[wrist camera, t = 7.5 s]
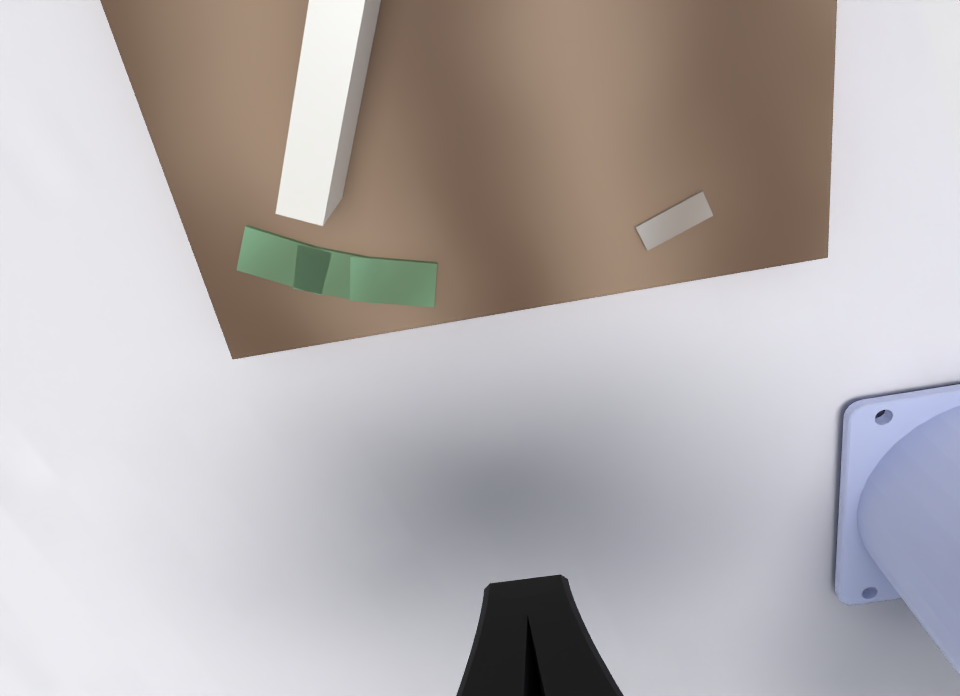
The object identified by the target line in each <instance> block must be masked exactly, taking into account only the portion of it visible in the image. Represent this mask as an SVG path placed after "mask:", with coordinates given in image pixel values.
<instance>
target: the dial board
mask: <svg viewBox="0 0 960 696" xmlns="http://www.w3.org/2000/svg"><path fill="white" fill-rule="evenodd" d="M100 1H101V4H102V6H103V9H104V12H105V14H106V17H107V20H108V23H109V25H110V28H111V31H112V33H113V36H114V39H115V42H116V44H117V47H118V50H119V52H120V55H121V58H122V61H123V63H124V66H125V69H126V71H127V74H128V77H129V80H130V82H131V85H132V88H133V90H134V93H135V96H136V99H137V101H138V104H139V107H140V109H141V112H142V115H143V117H144V120H145V123H146V126H147V128H148V131H149V134H150V136H151V139H152V142H153V145H154V147H155V150H156V153H157V155H158V158H159V161H160V164H161V166H162V169H163V172H164V174H165V177H166V180H167V183H168V185H169V188H170V191H171V193H172V196H173V199H174V202H175V204H176V207H177V210H178V212H179V215H180V218H181V221H182V223H183V226H184V229H185V231H186V234H187V237H188V240H189V242H190V245H191V248H192V250H193V253H194V256H195V259H196V261H197V264H198V267H199V269H200V272H201V275H202V278H203V280H204V283H205V286H206V288H207V291H208V294H209V297H210V299H211V302H212V305H213V307H214V310H215V313H216V316H217V318H218V321H219V324H220V326H221V329H222V332H223V335H224V337H225V340H226V343H227V345H228V348H229V351H230V353H231V356H232V359H238V358H243V357H249V356H255V355H261V354H267V353H273V352H278V351H284V350H290V349H296V348H302V347H308V346H314V345H319V344H325V343H331V342H337V341H343V340H349V339H354V338H360V337H366V336H372V335H378V334H384V333H389V332H395V331H401V330H407V329H413V328H419V327H425V326H430V325H436V324H442V323H448V322H454V321H460V320H465V319H471V318H477V317H483V316H489V315H495V314H501V313H506V312H512V311H518V310H524V309H530V308H536V307H541V306H547V305H553V304H559V303H565V302H571V301H577V300H582V299H588V298H594V297H600V296H606V295H612V294H617V293H623V292H629V291H635V290H641V289H647V288H652V287H658V286H664V285H670V284H676V283H682V282H688V281H693V280H699V279H705V278H711V277H717V276H723V275H728V274H734V273H740V272H746V271H752V270H758V269H764V268H769V267H775V266H781V265H787V264H793V263H799V262H804V261H810V260H816V259H822V258H828V235H829V207H830V180H831V152H832V124H833V96H834V68H835V40H836V12H837V0H381V3H380V8H379V13H378V18H377V23H376V28H375V33H374V38H373V43H372V48H371V54H370V59H369V64H368V69H367V74H366V79H365V84H364V89H363V94H362V100H361V105H360V110H359V115H358V120H357V125H356V130H355V135H354V140H353V145H352V151H351V156H350V161H349V166H348V171H347V176H346V181H345V186H344V191H343V196H342V199H341V201H340V202H339V204H338V205H337V207H336V208H335V209H334V211H333V212H332V214H331V215H330V217H329V218H328V219H327V221H326V222H325V224H324V225H323V226H320V225H317V224H313V223H309V222H305V221H301V220H297V219H294V218H290V217H286V216H282V215H278V214H276V207H277V201H278V194H279V188H280V182H281V175H282V169H283V163H284V156H285V150H286V144H287V137H288V131H289V124H290V118H291V112H292V105H293V99H294V93H295V86H296V80H297V73H298V67H299V61H300V54H301V48H302V42H303V35H304V29H305V23H306V16H307V10H308V3H309V0H100Z"/></svg>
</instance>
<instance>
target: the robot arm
mask: <svg viewBox="0 0 960 696" xmlns="http://www.w3.org/2000/svg"><path fill="white" fill-rule="evenodd" d="M882 410H885V412H884V414H883V415H882V416H880V417H878V418H875V416H876V414H877V413H878V412H879V411H882ZM866 588H868V589H866ZM835 593H836V595H837V596H838V598H839V600H840V601H841V602H842V603H844V604H846V605H857V604H864V603H871V602H878V601H886V600H893V599H900V598H902V599H903V600H904V602H905V603H906V604H907V606H908V607H909V608H910V610H911V611H912V612H913V614H914V615H915V616H916V618H917V619H918V621H919V622H920V623H921V625H922V626H923V627H924V629H925V630H926V631H927V633H928V634H929V635H930V637H931V638H932V639H933V641H934V642H935V643H936V645H937V646H938V647H939V649H940V650H941V651H942V653H943V654H944V655H945V657H946V658H947V659H948V661H949V662H950V663H951V665H952V666H953V667H954V669H955V670H956V671H957V673H958V674H959V675H960V384H957V385H951V386H945V387H939V388H932V389H926V390H920V391H913V392H907V393H901V394H894V395H888V396H882V397H875V398H869V399H863V400H859V401H856V402H854V403H852V404H851V405H850V406H849V407H848V408H847V409H846V411H845V414H844V419H843V439H842V458H841V478H840V497H839V517H838V536H837V556H836V575H835ZM457 696H623V694H622V692H621V691H620V689H619V687H618V686H617V684H616V682H615V681H614V679H613V677H612V675H611V674H610V672H609V670H608V668H607V667H606V665H605V663H604V661H603V660H602V658H601V656H600V654H599V652H598V651H597V649H596V647H595V645H594V643H593V641H592V639H591V637H590V635H589V633H588V631H587V629H586V627H585V624H584V622H583V620H582V618H581V616H580V613H579V611H578V609H577V606H576V604H575V601H574V598H573V595H572V593H571V590H570V586H569V582H568V579H567V578H565V577H564V576H562V575H554V576H546V577H538V578H530V579H522V580H514V581H506V582H498V583H491V584H489V585H488V586H487V587H486V588H485V589H484V596H483V603H482V609H481V614H480V618H479V623H478V627H477V631H476V635H475V638H474V642H473V646H472V649H471V653H470V656H469V659H468V662H467V665H466V668H465V672H464V675H463V678H462V681H461V684H460V687H459V690H458V693H457Z"/></svg>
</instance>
